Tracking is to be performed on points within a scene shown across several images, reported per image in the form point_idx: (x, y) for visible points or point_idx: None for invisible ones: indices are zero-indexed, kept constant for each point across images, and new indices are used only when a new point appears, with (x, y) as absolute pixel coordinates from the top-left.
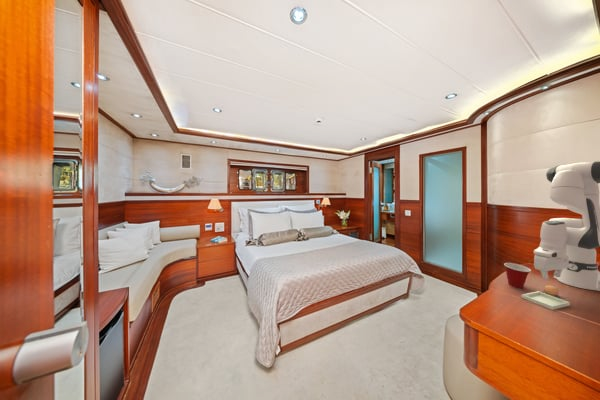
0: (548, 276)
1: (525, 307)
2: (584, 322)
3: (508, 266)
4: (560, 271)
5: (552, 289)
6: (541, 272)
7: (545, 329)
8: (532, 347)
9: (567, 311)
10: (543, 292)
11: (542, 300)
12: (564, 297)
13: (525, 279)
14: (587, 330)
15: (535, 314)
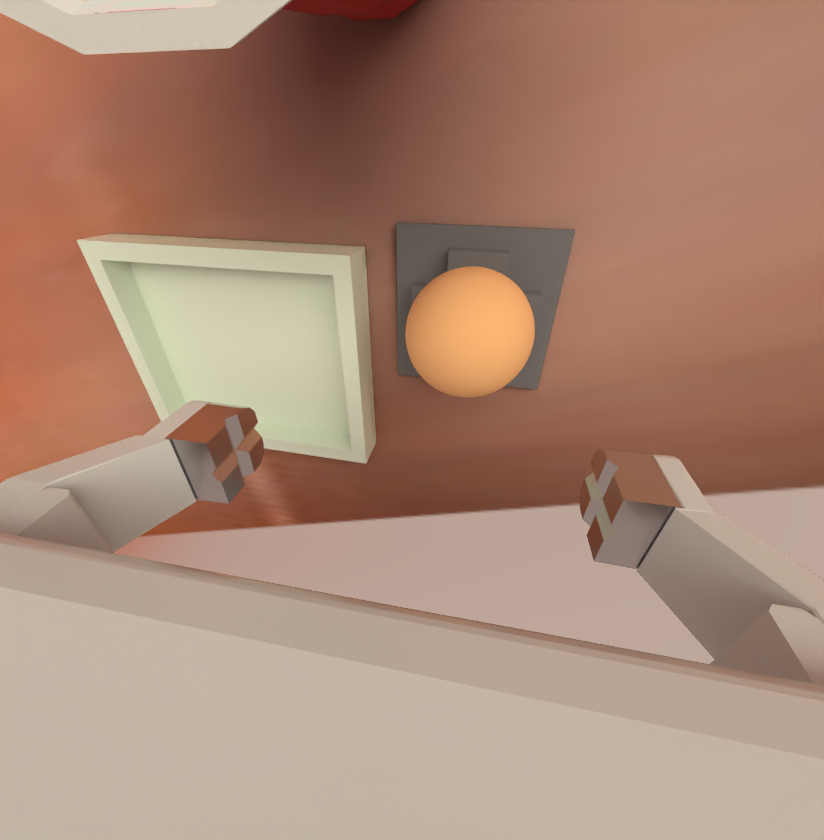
0: (231, 489)
1: (44, 333)
2: (238, 508)
3: None
4: (707, 639)
5: (421, 372)
6: (62, 471)
7: (9, 455)
8: None
9: (276, 453)
10: (446, 263)
11: (242, 343)
12: (534, 386)
13: (332, 3)
14: (181, 520)
15: (50, 393)
